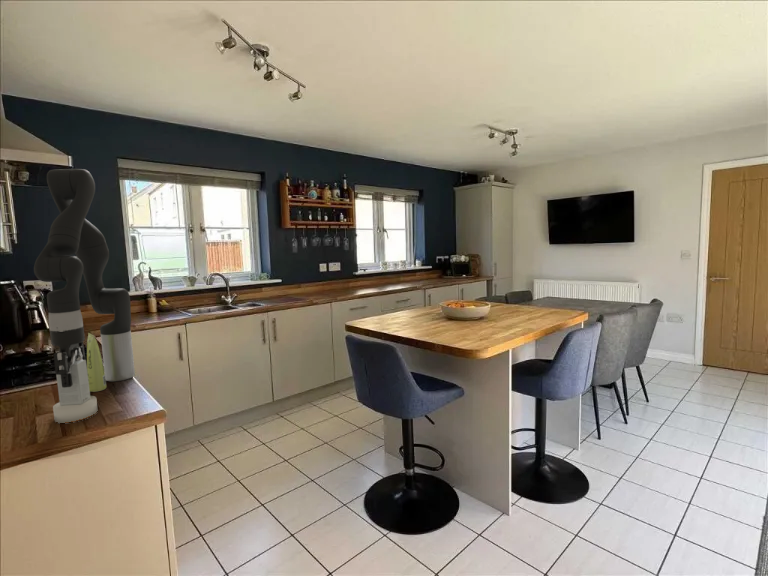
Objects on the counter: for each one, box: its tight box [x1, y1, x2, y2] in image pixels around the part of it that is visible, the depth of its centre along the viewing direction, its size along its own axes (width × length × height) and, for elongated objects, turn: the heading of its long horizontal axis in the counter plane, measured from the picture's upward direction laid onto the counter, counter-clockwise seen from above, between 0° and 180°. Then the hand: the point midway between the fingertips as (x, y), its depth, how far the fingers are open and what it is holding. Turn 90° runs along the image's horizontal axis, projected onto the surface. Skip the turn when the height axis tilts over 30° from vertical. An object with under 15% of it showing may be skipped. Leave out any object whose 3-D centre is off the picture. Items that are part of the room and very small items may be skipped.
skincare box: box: [55, 359, 91, 405], centre depth 115 cm, size 6×4×12 cm
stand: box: [52, 395, 99, 424], centre depth 116 cm, size 10×10×4 cm
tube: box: [86, 332, 108, 393], centre depth 135 cm, size 6×5×20 cm
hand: (73, 381), depth 115 cm, fingers open, 8 cm apart
